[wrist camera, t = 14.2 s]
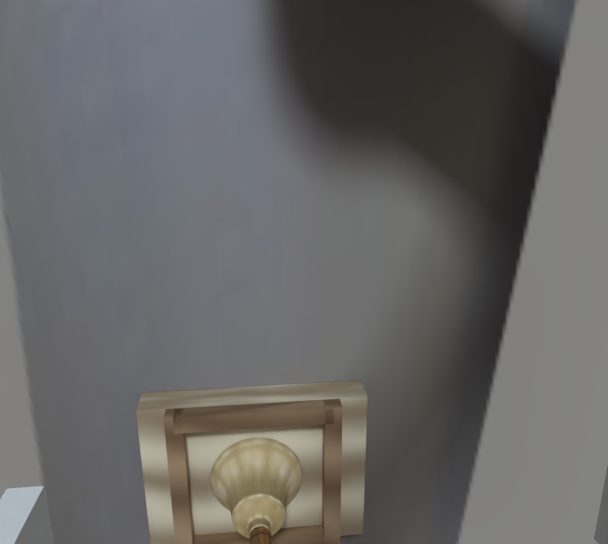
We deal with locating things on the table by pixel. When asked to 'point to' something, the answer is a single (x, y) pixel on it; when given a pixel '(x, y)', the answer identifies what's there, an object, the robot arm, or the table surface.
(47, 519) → the robot arm
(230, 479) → the hand bell
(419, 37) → the table surface
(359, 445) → the stand
